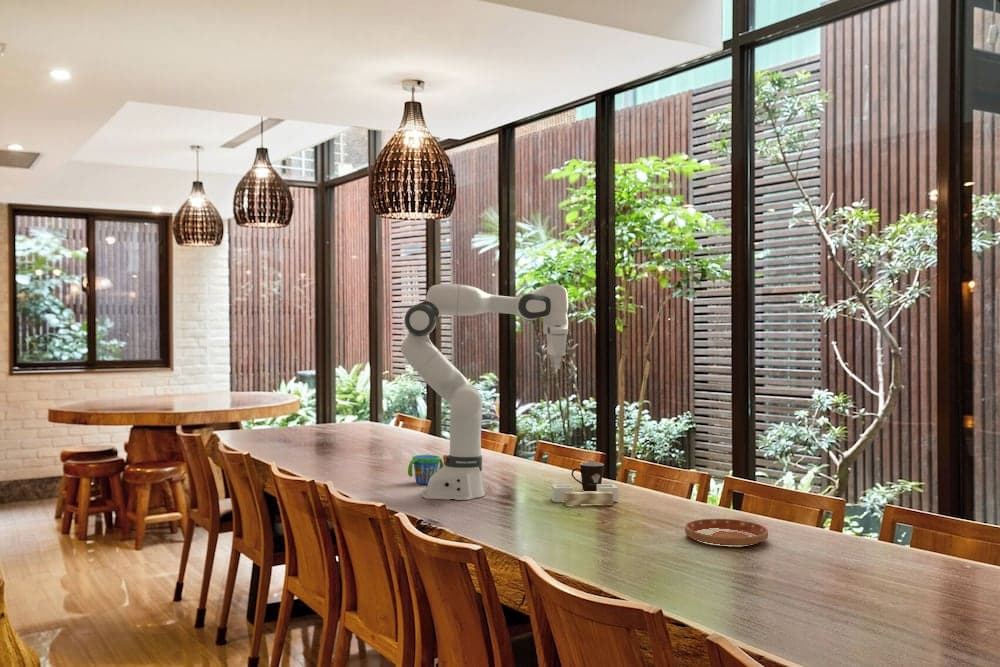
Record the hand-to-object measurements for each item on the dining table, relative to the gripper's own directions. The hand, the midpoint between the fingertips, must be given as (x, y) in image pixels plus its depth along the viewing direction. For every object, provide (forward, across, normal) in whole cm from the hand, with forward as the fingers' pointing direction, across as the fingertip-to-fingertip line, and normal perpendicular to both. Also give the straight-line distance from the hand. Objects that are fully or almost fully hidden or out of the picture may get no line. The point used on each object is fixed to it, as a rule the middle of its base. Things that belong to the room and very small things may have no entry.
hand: (555, 368), depth 302 cm
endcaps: (+45, +9, +9) cm, 47 cm away
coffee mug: (+46, -8, +13) cm, 48 cm away
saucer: (+46, +64, +40) cm, 88 cm away
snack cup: (+45, -25, -46) cm, 69 cm away
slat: (+46, +16, +9) cm, 49 cm away
